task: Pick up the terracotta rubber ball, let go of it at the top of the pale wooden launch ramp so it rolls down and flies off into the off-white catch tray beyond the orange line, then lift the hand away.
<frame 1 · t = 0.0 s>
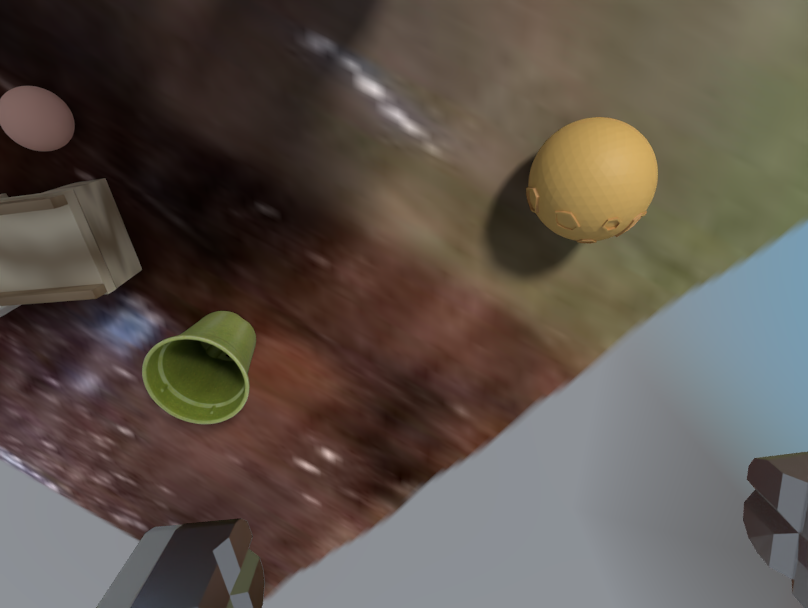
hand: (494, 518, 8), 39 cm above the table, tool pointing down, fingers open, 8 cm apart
rubber ball: (57, 117, 41), on the table
launch ramp: (64, 234, 45), on the table
stress ball: (567, 170, 44), on the table
plant pot: (227, 334, 50), on the table
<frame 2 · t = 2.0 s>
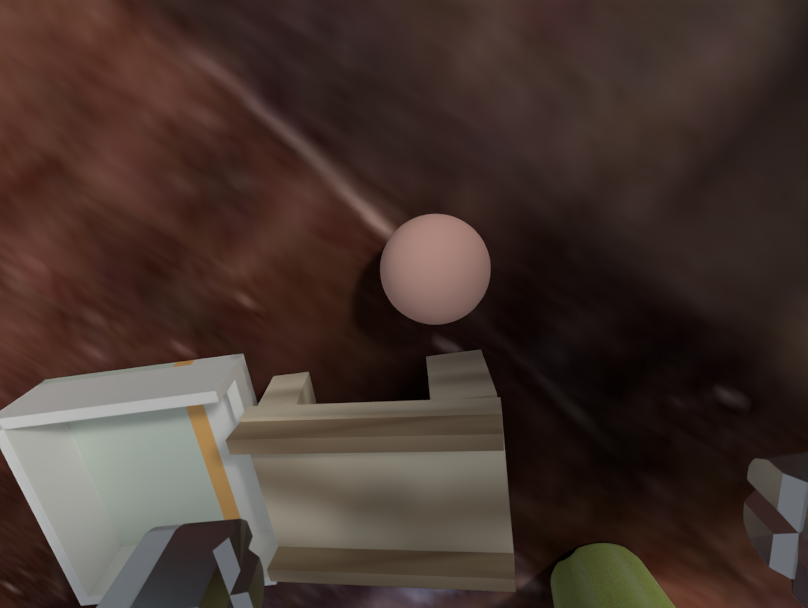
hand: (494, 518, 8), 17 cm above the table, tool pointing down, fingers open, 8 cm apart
rubber ball: (431, 256, 24), on the table
launch ramp: (384, 432, 27), on the table
catch tray: (177, 458, 28), on the table
plant pot: (593, 573, 31), on the table
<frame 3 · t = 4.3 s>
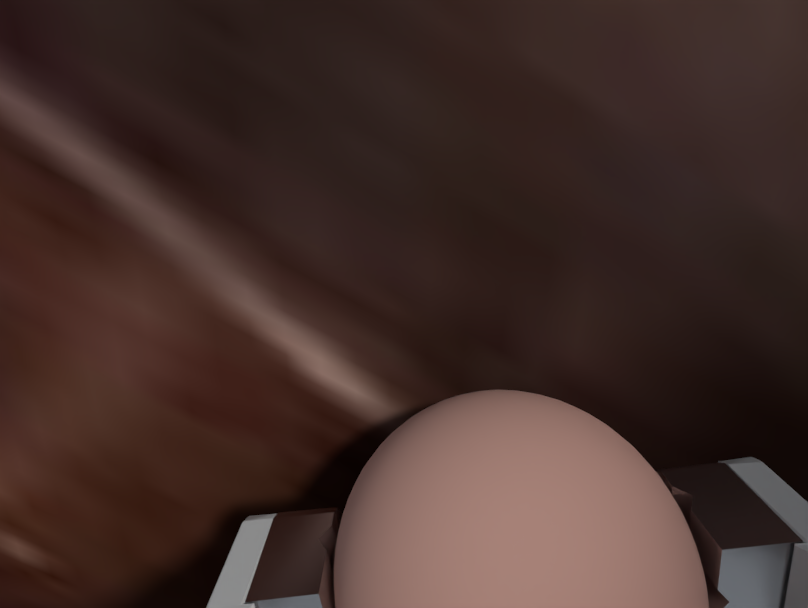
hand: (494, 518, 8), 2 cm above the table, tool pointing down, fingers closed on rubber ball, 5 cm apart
rubber ball: (479, 455, 9), on the table, touching gripper
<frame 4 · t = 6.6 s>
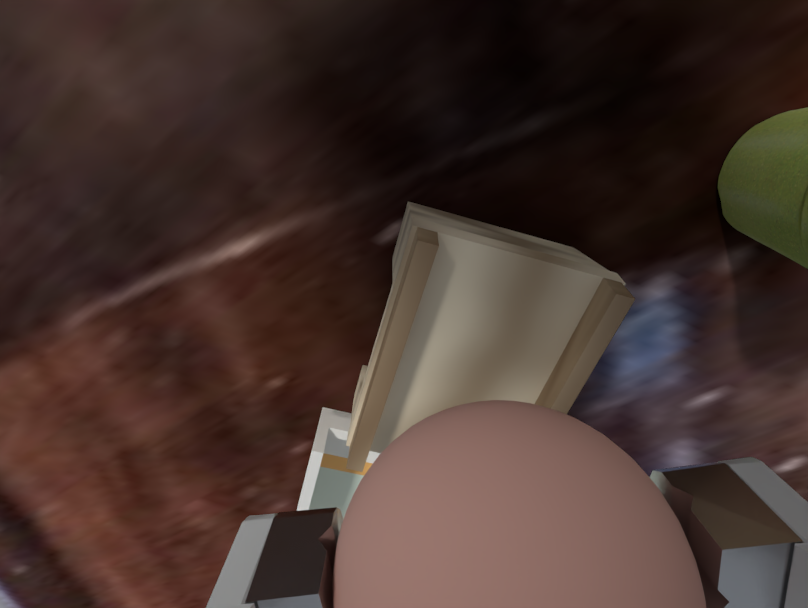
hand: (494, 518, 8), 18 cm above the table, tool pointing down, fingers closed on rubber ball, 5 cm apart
rubber ball: (478, 463, 9), point 16 cm above the table, touching gripper
launch ramp: (456, 328, 26), on the table
catch tray: (397, 500, 30), on the table
plant pot: (771, 177, 24), on the table
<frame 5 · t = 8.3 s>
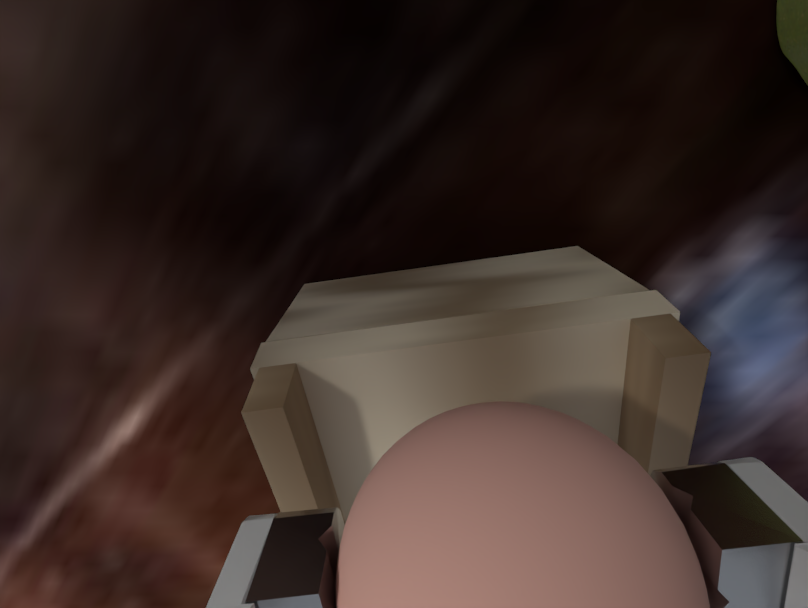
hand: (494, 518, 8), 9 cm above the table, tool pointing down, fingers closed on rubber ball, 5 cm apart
rubber ball: (481, 464, 9), point 7 cm above the table, touching gripper
launch ramp: (458, 421, 17), on the table
when the fingers open (9 cm above the table, at t = 9.0 s): rubber ball drops 4 cm and tips over, resting on catch tray.
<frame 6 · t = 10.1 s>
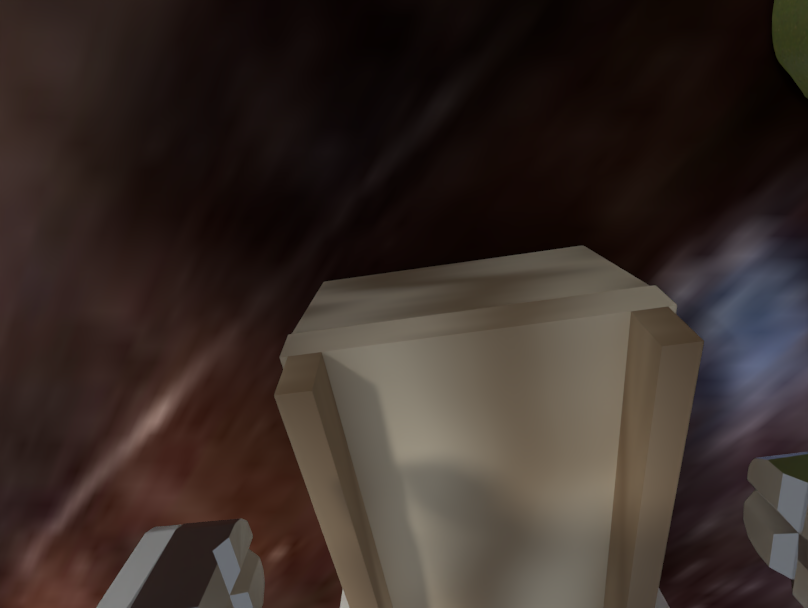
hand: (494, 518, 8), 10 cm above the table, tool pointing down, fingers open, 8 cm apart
launch ramp: (469, 413, 18), on the table
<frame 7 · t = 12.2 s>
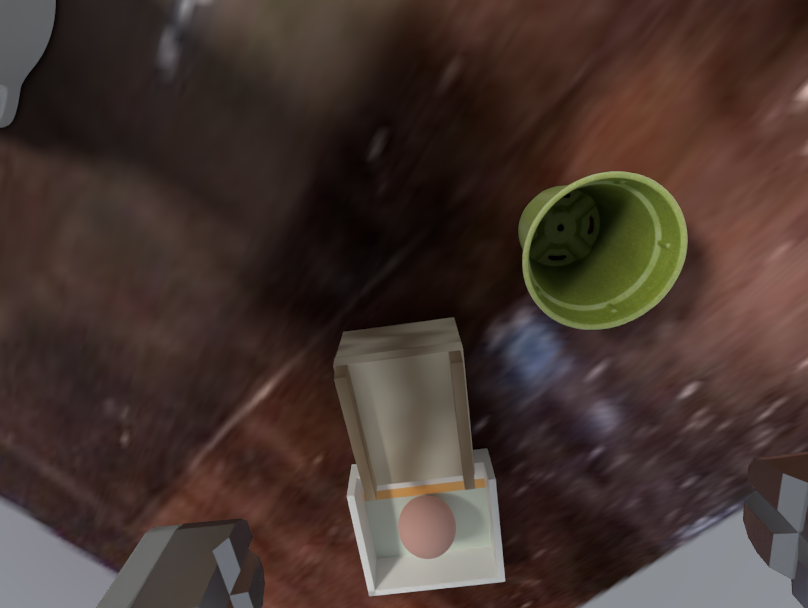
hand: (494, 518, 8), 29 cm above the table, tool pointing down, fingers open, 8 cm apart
rubber ball: (424, 497, 43), point 1 cm above the table, tilted 26°, touching catch tray
launch ramp: (408, 389, 40), on the table
catch tray: (426, 506, 44), on the table
plant pot: (557, 227, 36), on the table
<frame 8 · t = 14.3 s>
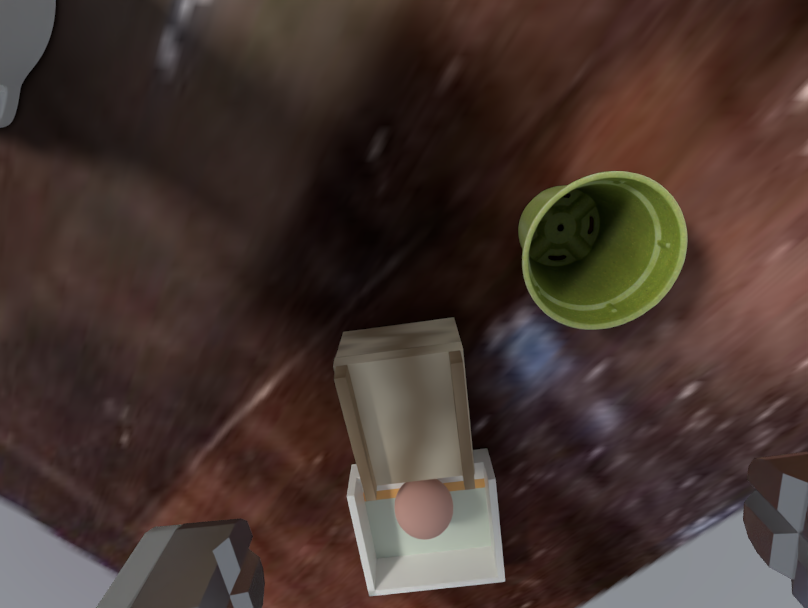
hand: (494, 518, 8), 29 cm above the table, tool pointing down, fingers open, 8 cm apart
rubber ball: (424, 496, 43), point 1 cm above the table, tilted 23°, touching catch tray
launch ramp: (408, 389, 40), on the table
catch tray: (426, 506, 44), on the table
plant pot: (557, 227, 36), on the table
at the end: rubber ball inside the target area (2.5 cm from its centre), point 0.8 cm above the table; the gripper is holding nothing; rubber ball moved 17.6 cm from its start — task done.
